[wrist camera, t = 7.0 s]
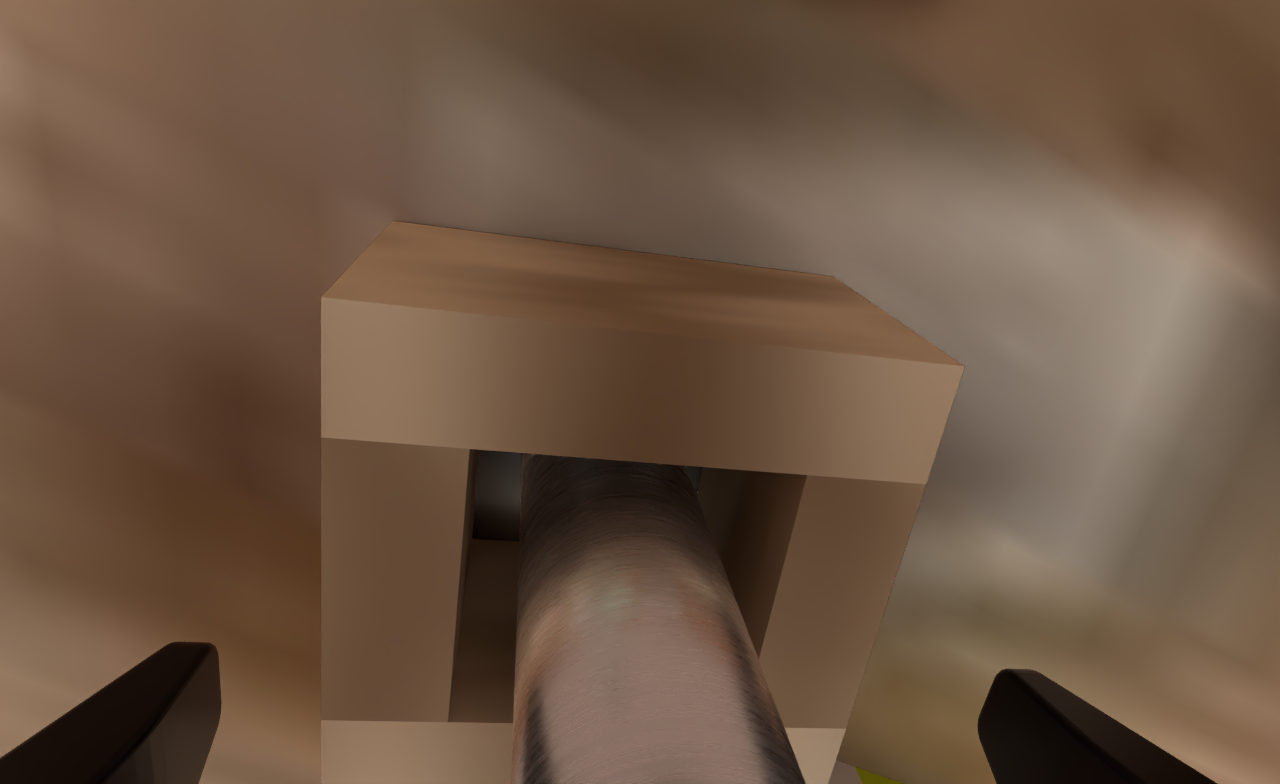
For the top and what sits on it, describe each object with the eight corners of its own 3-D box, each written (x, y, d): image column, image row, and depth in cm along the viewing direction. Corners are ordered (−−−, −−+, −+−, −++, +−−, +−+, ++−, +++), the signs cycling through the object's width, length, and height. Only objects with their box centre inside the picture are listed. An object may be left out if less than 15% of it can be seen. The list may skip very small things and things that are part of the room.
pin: (684, 387, 14) (898, 841, 6) (659, 519, 15) (810, 1064, 7) (530, 372, 14) (522, 842, 5) (515, 510, 15) (489, 1085, 6)
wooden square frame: (833, 276, 14) (965, 366, 9) (747, 621, 16) (820, 807, 12) (392, 220, 12) (320, 297, 8) (379, 605, 15) (320, 809, 11)
